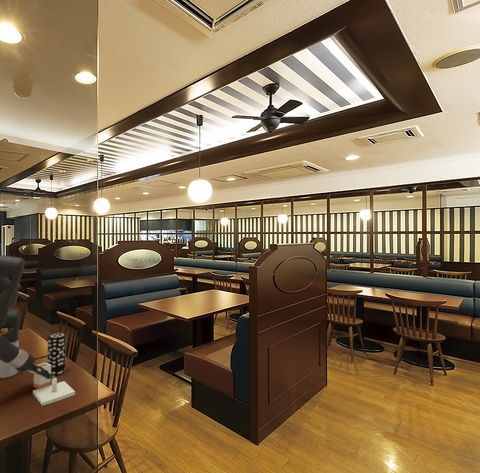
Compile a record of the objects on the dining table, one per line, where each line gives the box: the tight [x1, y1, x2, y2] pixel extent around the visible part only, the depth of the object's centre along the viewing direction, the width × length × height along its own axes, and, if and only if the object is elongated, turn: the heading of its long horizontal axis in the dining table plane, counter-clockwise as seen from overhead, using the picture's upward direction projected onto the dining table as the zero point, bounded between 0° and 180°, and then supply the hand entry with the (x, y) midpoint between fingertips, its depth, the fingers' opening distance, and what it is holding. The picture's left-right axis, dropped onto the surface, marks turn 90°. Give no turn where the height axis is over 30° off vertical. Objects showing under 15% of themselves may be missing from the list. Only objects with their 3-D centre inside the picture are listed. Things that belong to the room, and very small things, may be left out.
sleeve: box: [33, 362, 52, 390], centre depth 144 cm, size 5×5×10 cm
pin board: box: [32, 377, 76, 407], centre depth 137 cm, size 14×13×8 cm
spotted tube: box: [46, 332, 67, 378], centre depth 158 cm, size 8×8×20 cm
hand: (45, 375), depth 145 cm, fingers open, 8 cm apart
